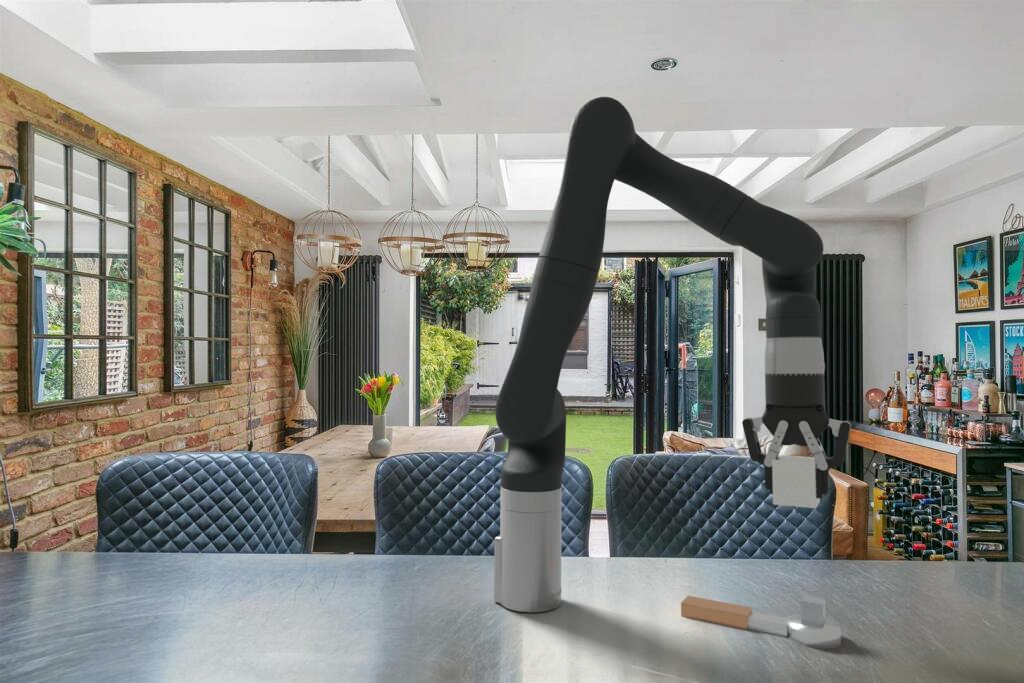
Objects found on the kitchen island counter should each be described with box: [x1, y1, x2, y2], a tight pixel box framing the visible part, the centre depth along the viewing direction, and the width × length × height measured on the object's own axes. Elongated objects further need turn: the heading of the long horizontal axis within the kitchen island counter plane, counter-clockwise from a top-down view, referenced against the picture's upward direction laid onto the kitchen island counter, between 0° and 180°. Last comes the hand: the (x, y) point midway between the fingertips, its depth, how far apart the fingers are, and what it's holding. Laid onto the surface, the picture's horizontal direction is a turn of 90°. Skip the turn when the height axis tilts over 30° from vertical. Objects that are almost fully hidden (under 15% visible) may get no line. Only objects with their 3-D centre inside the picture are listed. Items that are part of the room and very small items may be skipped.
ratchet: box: [680, 594, 842, 650], centre depth 90 cm, size 20×6×5 cm, turn 59°
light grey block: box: [772, 454, 821, 509], centre depth 90 cm, size 5×5×6 cm
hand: (796, 495), depth 90 cm, fingers closed on light grey block, 5 cm apart
